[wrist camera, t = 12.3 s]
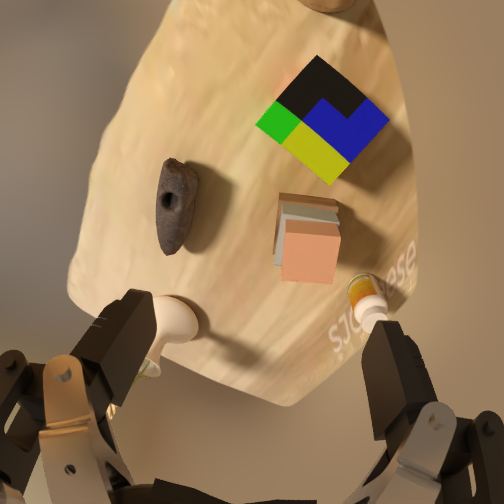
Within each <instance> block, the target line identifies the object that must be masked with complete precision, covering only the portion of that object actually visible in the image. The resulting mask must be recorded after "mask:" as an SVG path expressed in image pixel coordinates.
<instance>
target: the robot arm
mask: <svg viewBox="0 0 504 504" xmlns="http://www.w3.org/2000/svg"><path fill="white" fill-rule="evenodd" d="M299 1H300V2H301V3H302V4H303V5H305V6H307V7H309V8H311V9H313V10H316V11H320V12H326V13H335V12H340V11H344V10H346V9H348V8H349V7H350V6H352V5H353V3H354V2H355V0H299ZM156 333H157V321H156V316H155V310H154V303H153V297H152V294H151V293H150V292H148V291H142V290H137V289H129V290H128V291H127V293H126V294H125V295H124V297H123V298H122V299H121V300H115V301H114V302H112V303H110V304H109V305H107V306H106V307H105V308H104V309H103V311H102V312H101V313H100V314H99V316H98V318H96V320H95V321H94V322H93V324H92V326H90V327H89V329H88V330H87V332H86V333H85V334H84V336H83V337H82V338H81V340H80V341H79V342H78V344H77V345H76V346H75V348H74V349H73V351H72V352H71V353H70V354H69V355H60V356H57V357H54V358H53V359H51V360H50V361H49V362H48V363H47V364H37V363H28V361H27V359H26V358H25V356H24V354H23V353H22V352H20V351H18V350H10V351H6V352H5V353H3V354H2V355H1V356H0V504H26V503H25V500H24V498H23V494H24V492H25V489H26V486H27V483H28V481H29V478H30V476H31V473H32V471H33V468H34V465H35V463H36V461H37V459H38V456H39V454H40V452H41V455H42V461H43V466H44V471H45V476H46V481H47V485H48V489H49V493H50V497H51V501H52V504H231V503H228V502H225V501H223V500H220V499H218V498H215V497H213V496H210V495H208V494H206V493H203V492H201V491H199V490H197V489H194V488H191V487H187V486H182V485H179V484H174V483H170V482H167V481H163V480H160V479H157V478H155V481H154V484H139V485H135V483H134V481H133V478H132V476H131V474H130V472H129V470H128V468H127V466H126V464H125V463H124V461H123V459H122V457H121V454H120V451H119V448H118V445H117V443H116V439H115V436H114V433H113V429H112V426H111V423H110V419H109V416H108V413H107V409H108V407H109V405H110V404H113V405H116V406H119V407H121V406H122V404H123V402H124V400H125V398H126V396H127V393H128V391H129V389H130V387H131V385H132V383H133V381H134V379H135V377H136V375H137V373H138V371H139V369H140V367H141V365H142V363H143V361H144V359H145V357H146V355H147V353H148V351H149V349H150V347H151V346H152V344H153V342H154V340H155V337H156ZM421 357H422V356H421V354H420V351H419V349H418V346H417V345H416V343H415V342H414V341H413V340H412V339H411V338H410V337H409V336H408V335H404V334H403V331H402V329H401V326H400V324H399V322H398V321H388V320H378V321H376V323H375V325H374V327H373V330H372V332H371V334H370V336H369V339H368V341H367V343H366V345H365V348H364V350H363V353H362V370H363V375H364V380H365V385H366V391H367V396H368V402H369V407H370V414H371V420H372V426H373V432H374V440H375V441H377V440H386V443H387V446H386V447H385V448H384V449H383V451H382V453H381V454H380V456H379V457H378V459H377V460H376V462H375V463H374V465H373V467H372V468H371V469H370V471H369V472H368V474H367V475H366V477H365V478H364V480H363V481H362V482H361V484H360V485H359V486H358V488H357V489H356V490H355V491H354V492H353V493H352V494H351V495H350V496H349V497H348V498H347V499H346V500H345V501H344V502H343V503H342V504H434V502H435V504H504V424H503V422H502V420H501V418H500V417H499V416H498V415H497V414H496V413H494V412H492V411H484V412H482V413H480V414H479V415H478V416H477V417H476V418H475V419H474V420H472V419H466V418H459V417H456V416H455V414H454V412H453V410H452V409H451V408H450V407H449V406H448V405H446V404H444V403H442V402H438V400H437V397H436V394H435V391H434V388H433V385H432V383H431V380H430V377H429V374H428V372H427V369H426V368H425V364H424V361H423V359H421ZM16 403H18V404H19V405H20V406H21V407H20V409H19V411H18V413H17V414H16V416H15V418H14V420H13V422H12V424H11V425H10V427H9V429H8V432H7V433H6V434H5V432H4V426H5V423H6V421H7V419H8V417H9V415H10V414H11V412H12V410H13V408H14V406H15V405H16ZM471 464H473V469H474V475H475V481H476V493H475V496H474V497H472V490H471V483H470V476H469V470H468V466H469V465H471ZM246 504H317V500H271V501H264V502H255V503H246Z"/></svg>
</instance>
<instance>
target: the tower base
mask: <svg viewBox="0 0 504 504" xmlns="http://www.w3.org/2000/svg"><path fill="white" fill-rule="evenodd" d="M283 203H285V204H291V205H297V206H303V207H309V208H315V209H321V210H327V211H332V212H335V213H336V215H338V210H339V207H338V205H337V203H336V201H335V199H329V198H321V197H314V196H306V195H297V194H289V193H280V192H279V201H278V211H277V220H276V230H275V239H274V248H273V254H274V255H275V249H276V243H277V237H278V231H279V225H280V218H281V212H282V206H283Z"/></svg>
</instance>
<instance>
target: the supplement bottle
mask: <svg viewBox="0 0 504 504" xmlns="http://www.w3.org/2000/svg"><path fill="white" fill-rule="evenodd" d="M348 295H349V298H350V302H351V305H352V309H353V313H354V316H355V319H356V320H357V321H358V322H359V323H360V324H361V325H362V328H363V330H364V331H365V332H367V333H371V332H372V330H373V327H374V325H375V323H376V321H378V320H388V317H387V311H388V305H387V302H386V300H385V297H384V295H383V293H382V291H381V288H380V286H379V284H378V282H377V280H376V278H375V277H374V276H373V275H371V274H367V273H363V274H359V275H356V276H355V277H353V278H352V279H351V281H350V282H349V284H348Z"/></svg>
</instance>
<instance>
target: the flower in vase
mask: <svg viewBox="0 0 504 504" xmlns="http://www.w3.org/2000/svg"><path fill="white" fill-rule="evenodd" d="M153 303H154V310H155V316H156V321H157V333H156V337H155V340H154V342H153V344H152V346H151V347H150V349H149V351H148V353H147V355H146V357H145V359H144V361H143V363H142V365H141V367H140V369H139V371H140V372H141V373H140V374H138V373H137V375H138V377H137V378H136V379H135V380H134V381H133V383H132V385H131V387H132V386H133V385H134V383H135V382H136V381H137V380H138V379H139V377H140V376H141V377H143V378H144V379H146V380H147V379H150V378H148V377H145V376H143V375H142V374H145V375H147V376H150V377H157V376H159V375H160V374H161V369H160V367H159V359H160V355H161V352H162V349H163V347H164V345H165V344H166V343H172V344H180V343H185V342H188V341H190V340H191V339H192V338H194V337H195V336H196V334H197V332H198V328H199V325H198V320H197V318H196V316H195V314H194V312H193V311H192V310H191V309H190V308H189V307H188V306H187V305H186V304H185V303H183V302H182V301H180V300H178V299H176V298H173V297H169V296H156V297H153ZM131 387H130V388H131ZM116 409H117V406H116V405H113V404H110V405H109V407H108V409H107V413H108V416H109V419H112V418H113V414H115V412H116Z"/></svg>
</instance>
